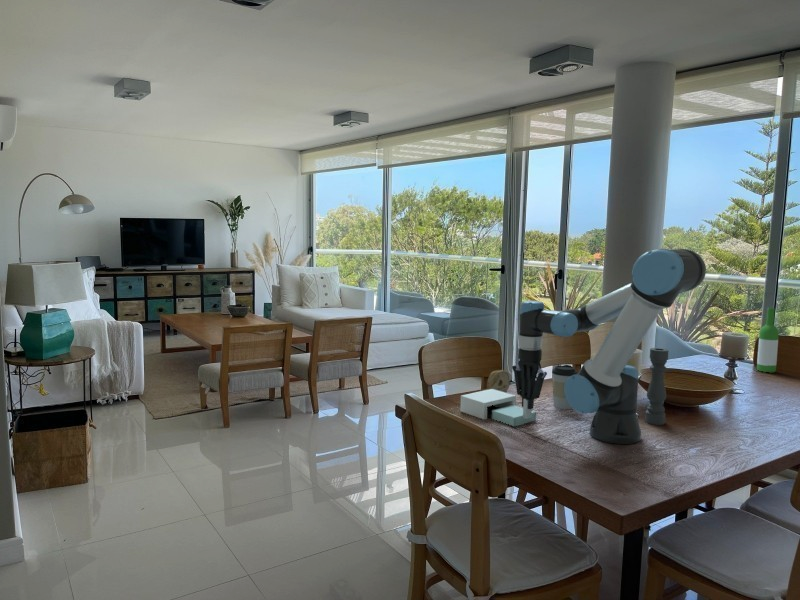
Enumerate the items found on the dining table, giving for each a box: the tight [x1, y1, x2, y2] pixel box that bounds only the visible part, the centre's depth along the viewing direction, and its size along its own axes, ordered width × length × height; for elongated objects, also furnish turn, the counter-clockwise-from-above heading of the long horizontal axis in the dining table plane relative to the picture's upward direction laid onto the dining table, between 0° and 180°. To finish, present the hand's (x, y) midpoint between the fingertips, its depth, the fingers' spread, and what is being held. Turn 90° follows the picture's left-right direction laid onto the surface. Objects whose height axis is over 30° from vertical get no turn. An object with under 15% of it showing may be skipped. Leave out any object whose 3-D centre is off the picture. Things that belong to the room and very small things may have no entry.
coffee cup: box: [551, 364, 578, 410], centre depth 219 cm, size 9×9×15 cm
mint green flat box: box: [491, 404, 537, 427], centre depth 204 cm, size 10×11×3 cm
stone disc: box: [486, 369, 511, 393], centre depth 234 cm, size 10×4×10 cm, turn 125°
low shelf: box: [460, 389, 517, 420], centre depth 213 cm, size 12×16×6 cm
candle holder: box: [644, 347, 669, 426], centre depth 202 cm, size 6×6×25 cm
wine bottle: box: [756, 307, 780, 374], centre depth 280 cm, size 8×8×30 cm
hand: (527, 417), depth 199 cm, fingers closed
